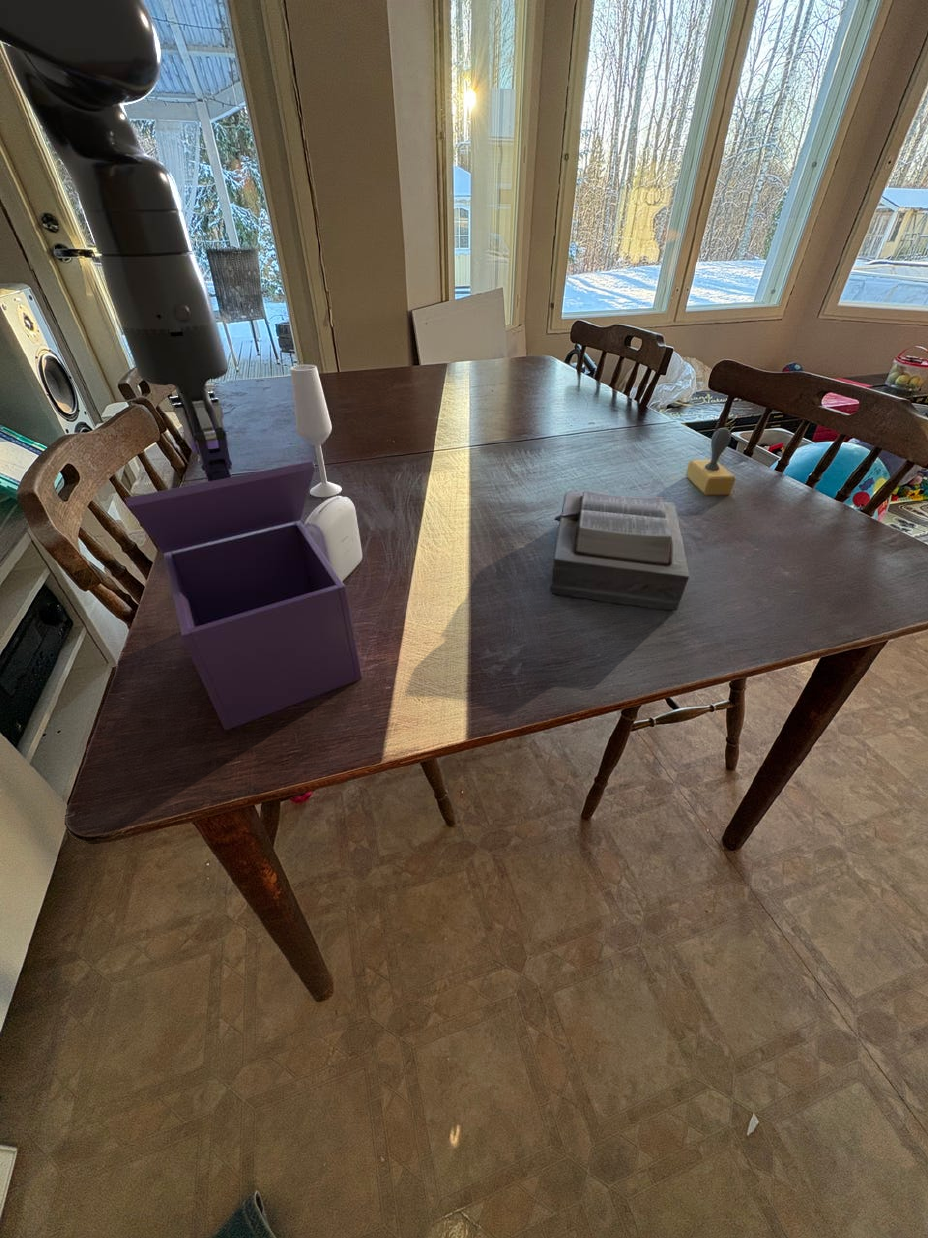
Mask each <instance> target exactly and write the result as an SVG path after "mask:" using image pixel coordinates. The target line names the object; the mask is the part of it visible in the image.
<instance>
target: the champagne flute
mask: <svg viewBox="0 0 928 1238" xmlns="http://www.w3.org/2000/svg"><path fill="white" fill-rule="evenodd" d="M289 370H290V371H289V372H290V380H291V388H292V389H291V390H292V399H293V407H294V408H293V409H294V416H295V417H294V418H295V426H296V427H295V428H296V432H297V434H298V435H299V436H300V437H301V438H302V439H303V440H304V441H306V442H307V443H309V444H310V445H312V446H314V449H315V455H316V459H317V460H316V461H317V466H318V471H319V476H320V477H319V478H320V482H318V484H316V485H314V486H313V487H312V488H311V489H309V494H310V495H311V496H313V497H316V498H331V497H335V496H337V495H338V494H340V493H341V492H342V490H343V488H342V486H340V485H339V484H336V483H333V482H331V481H328V479H327V474H326V473H327V472H326V468H325V467H326V466H325V462H324V457H323V452H322V447H321V446H322V445H323V444H324V443H325V442H326V441H327V439H328V438H329V436H330V435H331V433H332V429H333V425H332V422H331V418H330V414H329V410H328V406H327V402H326V398H325V394H324V391H323V386H322V383H321V379H320V375H319V371H318V367H317V365H314V364H297V365H293V366H291V367H289Z"/></svg>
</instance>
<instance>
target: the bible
mask: <svg viewBox="0 0 928 1238" xmlns="http://www.w3.org/2000/svg"><path fill="white" fill-rule="evenodd" d="M563 496H564V497H563V503H562V507H561V513H560V514H559V515H557V516H555V517H554V518H553V519H554V521H557V522H558V527H557V533H556V540H555V548H554V552H553V566H552V572H551V584H550V586H549V589H550V592H552V593H555V594H557V595H559V596H563V597H566V596H570V597H573V598H577V599H588V600H595V601H597V602H603V603H610V604H619V605H625V606H635V607H643V608H648V609H651V610H653V609H655V610H668V611H671V610H673V611H677V610H679V609H678V608H679V605H680V602H681V599H682V597H683V594H684V592H685V589H686V586H687V583H688V581H689V579H690V572H689V571H690V570H689V568H688V564H687V563H688V562H687V559H686V553H685V545H684V541H683V536H682V533H681V528H680V524H679V519H678V513H677V507H676V503H675V502H671V501H665V499H664V497H663V496H645V497H643V496H622V495H615V494H608V493H601V492H596V491H592V490H586V489H585V490H583V492H576V491H566V492H565V494H564V495H563Z"/></svg>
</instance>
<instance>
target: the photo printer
mask: <svg viewBox="0 0 928 1238" xmlns="http://www.w3.org/2000/svg"><path fill="white" fill-rule="evenodd" d="M357 518H358V517H357V512H356V507H355V504H354V503H353V501H352V500H351V499H350V498H349V497H347V496H342V495H335V496H331V497H329V498H327V499H326V500H324V501H323V502H321V503H320V504H319V505H318V506H317V507H316V508H315V509H313V510H312V512H311V513H310V514H309V515H308V517H307V518H306V519H305V522H304V524H303V526H304V527H305V529H306V530H307V532H308V533H309V534H310V536H311V537H312V539H313V540H314V542H315V543H316V545H317V546H318V548H319V549H320V550H321V552H322V553H323V555H324V556H325V558H326V559H327V561H328V562H329V564H330V565H331V566H332V568H333V569H334V571H335V572H336V574H337V575H338V577H339V578H340V580H341V581H342V582H343V581H344V580H346V579H347V577H348V576H349V575H350V574H352V572H353V571H354V570H355V569H356V568H357V566H358V565H360V563H361V562H362V560H363V551H362V544H361V536H360V531H359V525H358V524H359V523H358V519H357Z"/></svg>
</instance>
